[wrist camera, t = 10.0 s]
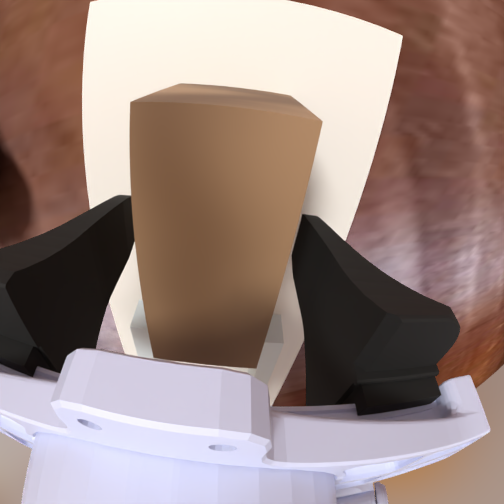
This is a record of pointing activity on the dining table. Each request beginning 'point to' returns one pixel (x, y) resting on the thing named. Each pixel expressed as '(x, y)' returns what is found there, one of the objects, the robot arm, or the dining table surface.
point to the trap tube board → (241, 76)
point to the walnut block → (216, 214)
